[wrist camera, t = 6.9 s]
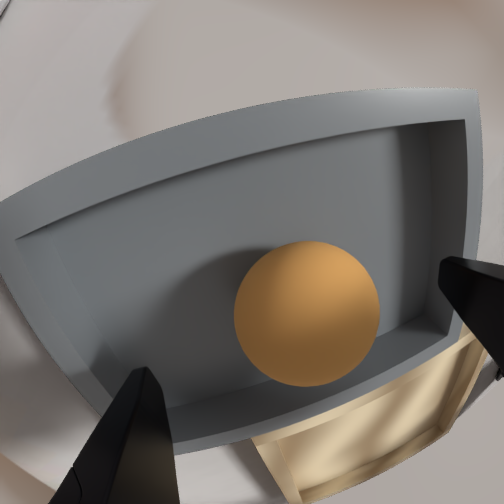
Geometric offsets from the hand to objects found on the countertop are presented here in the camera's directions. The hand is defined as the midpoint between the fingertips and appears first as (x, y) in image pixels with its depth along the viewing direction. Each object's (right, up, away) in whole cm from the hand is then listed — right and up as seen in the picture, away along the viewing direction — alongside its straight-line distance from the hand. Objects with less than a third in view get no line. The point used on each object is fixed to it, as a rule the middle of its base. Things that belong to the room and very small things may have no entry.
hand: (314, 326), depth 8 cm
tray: (-1, +1, +3) cm, 3 cm away
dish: (+7, -10, +10) cm, 16 cm away
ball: (-1, +1, +2) cm, 3 cm away
